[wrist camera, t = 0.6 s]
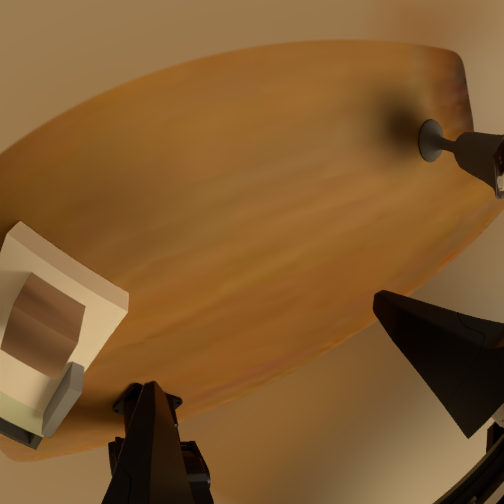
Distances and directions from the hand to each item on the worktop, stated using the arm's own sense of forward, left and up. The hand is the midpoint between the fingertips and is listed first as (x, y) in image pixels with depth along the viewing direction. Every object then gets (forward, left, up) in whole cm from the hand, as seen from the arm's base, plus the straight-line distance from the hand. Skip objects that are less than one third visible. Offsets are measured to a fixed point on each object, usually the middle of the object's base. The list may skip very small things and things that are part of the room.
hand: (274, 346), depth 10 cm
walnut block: (-13, +7, -11) cm, 18 cm away
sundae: (+22, -12, -14) cm, 29 cm away
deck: (-22, +7, -13) cm, 26 cm away
